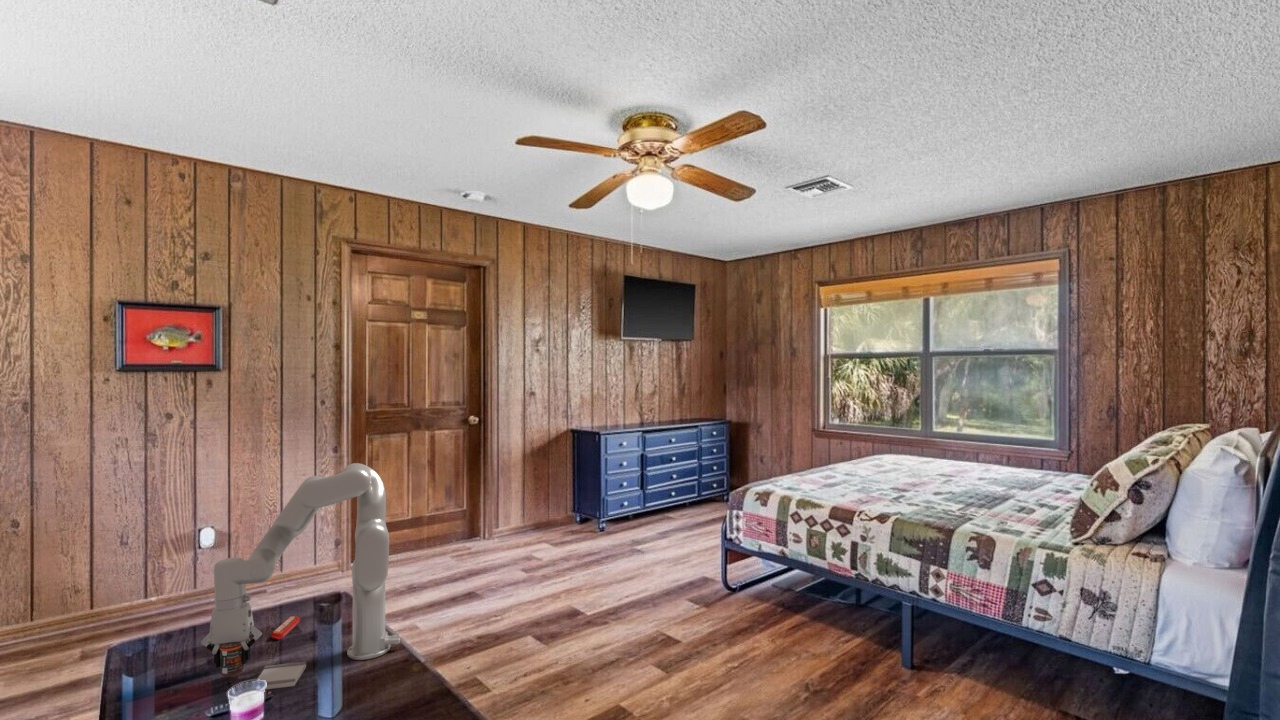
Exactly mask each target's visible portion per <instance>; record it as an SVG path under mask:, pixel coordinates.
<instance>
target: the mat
mask: <svg viewBox="0 0 1280 720" xmlns="http://www.w3.org/2000/svg"><path fill="white" fill-rule="evenodd" d="M306 668H307V661H300V662H299V661H298V662H290V663H289V662H288V663H281V664H272V665H271V664H270V665H265V666H264V668H263V670H262V671H261V672H260V674H259V676H258V677H257V679H255V681H256V680H258V679H260V680H266V682H267V689H266V690H271V689H281V688H288V687H295V686H296V685H297V682H298V681H299V679H300V678H301V676H302V675H303V673H304V672H305V669H306Z"/></svg>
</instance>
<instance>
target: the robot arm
mask: <svg viewBox="0 0 1280 720" xmlns="http://www.w3.org/2000/svg"><path fill="white" fill-rule="evenodd" d="M386 493H387V492H386V489H385V485H384V482H383V480H382V478H381V476H380V475H379V474H378V472H376V471H375V470H374V469H373V468H371V467H370V466H369V465H368V466H367V465H366V464H363V463H359V462H354V463H350V464H348V465H347V466H345V467H344V468H343V469H342V471H341V472H340V473H337V474H334V475H333V474H332V475H330V476H327V477H323V476H320V475H312V476H309V477H307V478H305V480H303V482H301V484H300V485H299V487H298V488H297V490H296V491H295V493H294V494H293V495H292V497H291V498H290V499H289V501H288V502H287V504H286V505H285V506H284V507H283V509H282V510H281V512H280V513H279V514H278V516H277V517H276V519H275V520H274V521H273V523H272V525H271V527H270V528H269V530H268V531H267V532H266V533H265V535H264V536H263V537H262V539H261V540H260V542H259V543H258V545H257V546H256V547H255V549H254V550H252V551H253V552H251V554H250V556H249V557H248V559H247V560H244V558H243V557H236V556H235V557H229V558H224V559H221V560H219V561H217V562H216V563H215V564H214V567H213V579H214V580H213V583H214V584H213V585H214V608H213V609H212V613H211V618H210V625H209V633H207V635H206V636H205V637H203V639H202V640H201V641H200V644H201V645H203V646H204V647H206V649H207V650H208V651H210V652H211V654H212V655H213V660H214V661H213V662H214V665H215V668H216V669H218V668H219V667H220V645H221V644H225V643H229V642H240V643H241V645H242V647H243V651H242V664H245V665H246V663H248V662H249V660H250V659H251V647H252V646H253V645H254V644H255V642H256V641H257V640H259V638H261V636H263V632H262V631H261V630H259V629H258V628H257V627H256V626H255V624H254V616H253V611H252V607H251V604H250V602H251V601H252V596H251V595H248V594H247V590H246V589H247V588H246V587H247V586H246V584H247V585H250V584H251V585H252V584H253V585H255V584H262V583H265V582H267V581H268V580H269V579H271V577H272V576H273V574H274V572H275V569H276V568H275V567H276V564H277V562H278V561H279V560H280V558H281V556H282V555H283V554H284V552H285V551H286V549H287V548H288V547H289V545H290V544H291V543H292V541H294V539H296V538H297V537H298V536H300V535H301V534H302V533H304V532H305V530H306V529H307V527H308V526H309V524H310V523H311V521H312V520H313V518H314V517H315V516H316V514H317V513H318V511H319V510H321V509H320V508H324V507H325V508H326V507H329V506H333V505H335V504H338V503H341V502H345V501H347V500H350V499H354V498H356V502H357V503H356V505H357V506H356V527H355V532H354V541H355V554H354V555H355V556H354V560H353V562H352V565H351V577H352V645H351V646H350V647H349V648H348V649H347V651H346V653H347V657H348V658H350V659H352V660H355V661H356V660H357V661H361V660H362V661H365V660H370V659H371V660H372V659H375V658H378V657H380V656H382V655H385V654H386V653H387V652H389V650H390V649H391V645H398V644H400V642H401V637H400V636H398V635H397V634H394V635H389V632H388V631H387V630H386V580H387V578H388V574H389V573H388V572H389V563H390V562H389V559H390V534H389V530H388V527H387V523H386V522H387V517H386V516H387V494H386ZM249 601H250V602H249ZM251 635H253V637H252V638H251V639H250V636H251ZM219 669H220V668H219Z"/></svg>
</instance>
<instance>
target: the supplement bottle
mask: <svg viewBox="0 0 1280 720" xmlns="http://www.w3.org/2000/svg"><path fill="white" fill-rule="evenodd" d="M242 651H243V647H242V645H241V643H240V642H229V643H225V644H221V645H220V668H219V670H220V671H219V673H220V676H221V677H225V678H226V677H227V678H228V677H234V676H236V675H239V674H240V673H242V672H243V671H244V670H245V668H246V664H242Z"/></svg>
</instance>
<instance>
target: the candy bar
mask: <svg viewBox="0 0 1280 720" xmlns="http://www.w3.org/2000/svg"><path fill="white" fill-rule="evenodd" d="M300 621H301V617H299V616H295V615H290V616H289V617H288V618H286V620H285V621H283V622H282V623H281V624H280V625H279V626H278V627H277V628H276V629H274V630H273V632H272V634H271V635H270V636H271V637H270V638H271V639H272V640H273V639H274V640H279V641H280V640H282V639H284V637H286V635H288V634H289V633H290V632H291V631H292V630H293V629H294V628H295V627H296V626H297V625H298V624H299V623H300Z"/></svg>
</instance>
